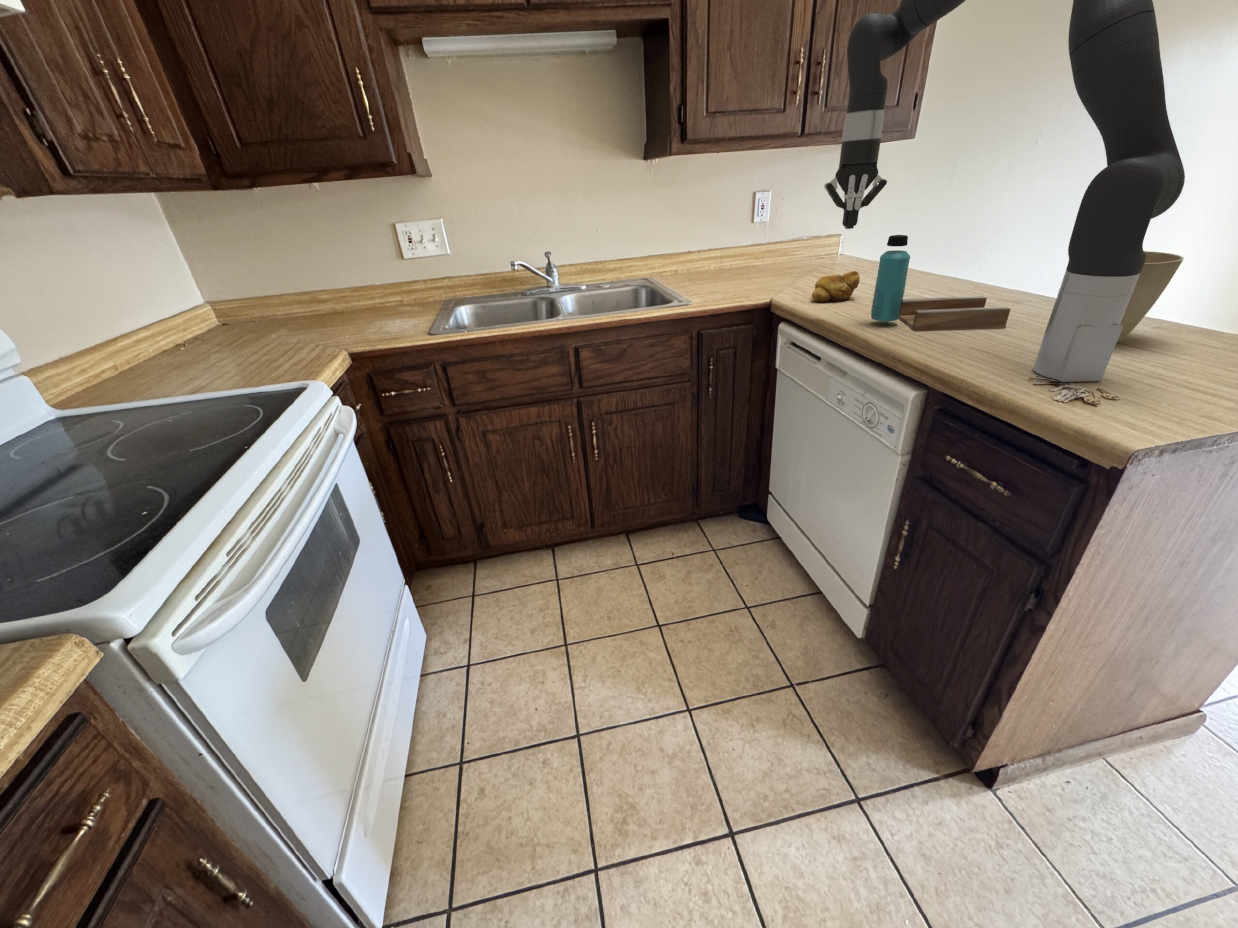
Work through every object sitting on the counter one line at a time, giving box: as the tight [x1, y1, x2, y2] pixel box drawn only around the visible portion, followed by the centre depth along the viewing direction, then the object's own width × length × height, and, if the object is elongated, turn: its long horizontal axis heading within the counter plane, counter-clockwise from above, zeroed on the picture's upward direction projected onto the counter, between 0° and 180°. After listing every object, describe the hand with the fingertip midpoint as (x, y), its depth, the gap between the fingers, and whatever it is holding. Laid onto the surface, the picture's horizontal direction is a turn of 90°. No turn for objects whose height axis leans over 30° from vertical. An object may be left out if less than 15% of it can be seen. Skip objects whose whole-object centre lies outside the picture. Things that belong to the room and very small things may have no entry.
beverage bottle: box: [870, 234, 911, 322], centre depth 121 cm, size 6×7×20 cm
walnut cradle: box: [898, 295, 1011, 332], centre depth 123 cm, size 13×19×4 cm
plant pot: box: [1116, 250, 1185, 344], centre depth 103 cm, size 15×15×16 cm
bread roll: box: [811, 270, 861, 303], centre depth 150 cm, size 13×10×8 cm
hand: (849, 228), depth 117 cm, fingers closed
